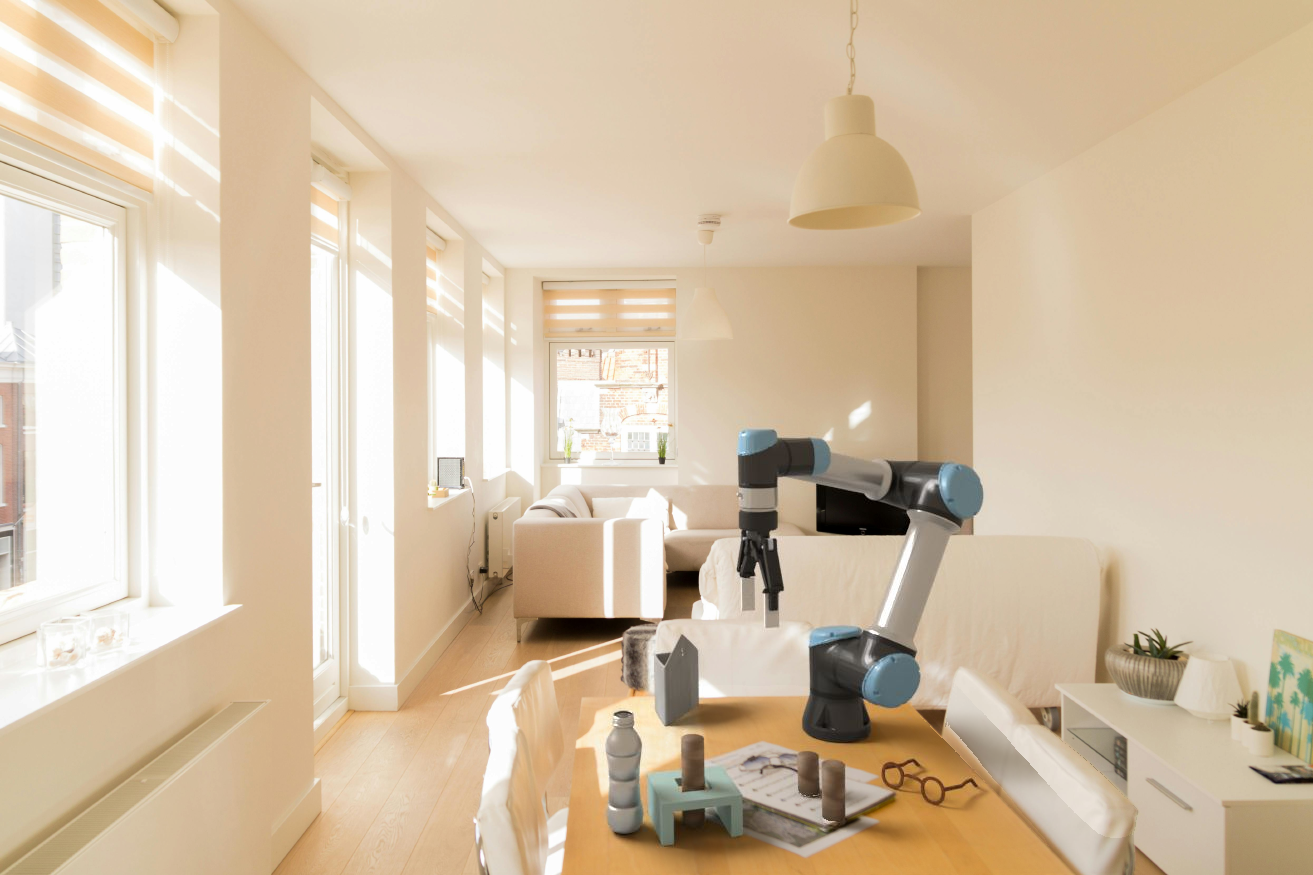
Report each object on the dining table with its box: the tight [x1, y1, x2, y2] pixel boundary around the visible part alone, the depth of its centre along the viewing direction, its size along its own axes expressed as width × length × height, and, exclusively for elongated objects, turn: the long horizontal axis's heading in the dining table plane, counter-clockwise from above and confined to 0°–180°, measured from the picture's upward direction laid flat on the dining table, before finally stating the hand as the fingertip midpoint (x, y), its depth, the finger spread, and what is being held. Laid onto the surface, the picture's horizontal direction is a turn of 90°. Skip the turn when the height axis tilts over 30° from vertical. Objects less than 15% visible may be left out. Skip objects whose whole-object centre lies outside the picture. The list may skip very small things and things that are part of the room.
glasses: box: [881, 758, 979, 806], centre depth 155 cm, size 13×13×5 cm
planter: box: [653, 633, 700, 727], centre depth 195 cm, size 16×8×19 cm, turn 149°
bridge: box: [646, 764, 744, 847], centre depth 142 cm, size 14×12×7 cm
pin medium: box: [821, 759, 847, 828], centre depth 142 cm, size 4×4×10 cm
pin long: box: [680, 733, 706, 830], centre depth 142 cm, size 4×4×15 cm
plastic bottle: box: [605, 710, 645, 835], centre depth 140 cm, size 6×7×20 cm
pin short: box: [796, 750, 821, 796], centre depth 153 cm, size 4×4×7 cm
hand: (759, 618), depth 157 cm, fingers open, 13 cm apart
